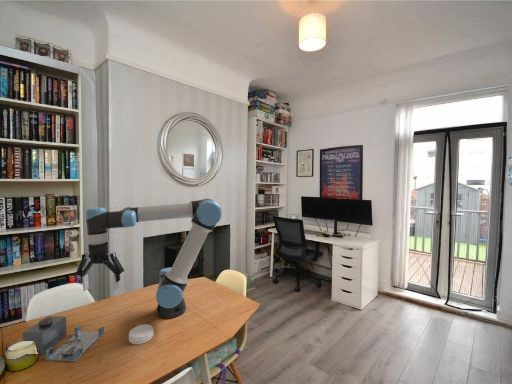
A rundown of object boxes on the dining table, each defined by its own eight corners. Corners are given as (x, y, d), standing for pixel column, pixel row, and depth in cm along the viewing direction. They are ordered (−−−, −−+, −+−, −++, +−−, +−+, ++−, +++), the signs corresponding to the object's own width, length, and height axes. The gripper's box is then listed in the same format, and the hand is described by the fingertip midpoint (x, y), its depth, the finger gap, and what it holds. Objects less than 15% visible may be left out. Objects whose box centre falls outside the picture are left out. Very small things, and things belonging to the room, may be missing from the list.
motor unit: (104, 333, 115) (104, 310, 115) (75, 361, 98) (74, 334, 97) (54, 331, 116) (54, 309, 116) (16, 359, 98) (15, 333, 98)
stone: (61, 346, 106) (61, 340, 105) (82, 339, 110) (82, 333, 110) (61, 359, 98) (61, 352, 98) (84, 351, 102) (84, 344, 102)
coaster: (137, 348, 106) (137, 339, 106) (124, 339, 111) (123, 332, 111) (158, 335, 114) (158, 328, 114) (144, 328, 120) (144, 321, 120)
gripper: (130, 239, 116) (133, 284, 118) (75, 241, 116) (79, 286, 117) (121, 243, 109) (124, 291, 110) (63, 245, 109) (67, 293, 110)
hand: (101, 289), depth 114 cm, fingers open, 13 cm apart
